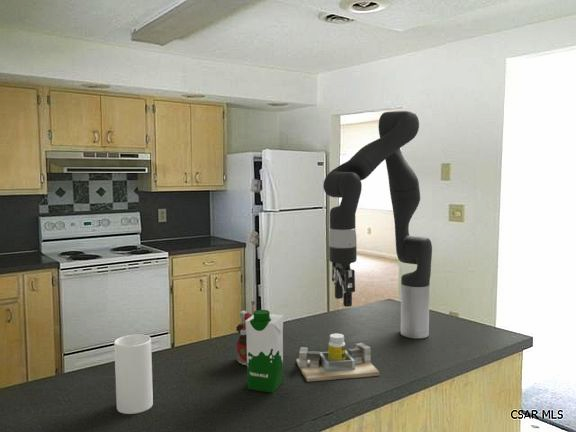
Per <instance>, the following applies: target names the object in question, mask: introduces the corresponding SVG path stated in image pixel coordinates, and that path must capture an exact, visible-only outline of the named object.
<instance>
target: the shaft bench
mask: <svg viewBox="0 0 576 432" xmlns="http://www.w3.org/2000/svg"><path fill="white" fill-rule="evenodd" d="M371 348H372V347H371V346H369V345H367V344H365V343H363V342H359V343H355V347H353V348H348V349H345V360H343V361H331V362H328V351H318V350H317V351H314V350H313V351H312V350H311V351H309V350H308V349H309V348H308V347H303V346H301V347H300V349H299V352H298V353H299V355H298V358H296V359H295V360H296V362H295V363H296V364H297V366H298V368H299V369H300V372H301V374H302V375H303V377H304V378H305V381H306V382H320V381H321V382H322V381H332V380H343V379H344V380H345V379H354V378H356V379H358V378H366V377H377V376H378V377H379V376H380V371H379V369H377V368H376V367H375V365H373V363H372V362H371V354H372V353H371V352H372V349H371Z"/></svg>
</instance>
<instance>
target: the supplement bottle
mask: <svg viewBox="0 0 576 432" xmlns="http://www.w3.org/2000/svg"><path fill="white" fill-rule="evenodd" d="M327 350H328V351H327V352H328V362H331V361H343V360H345V350H346V342H345V335H344V334H342V333H331V334H329V341H328V349H327Z"/></svg>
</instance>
